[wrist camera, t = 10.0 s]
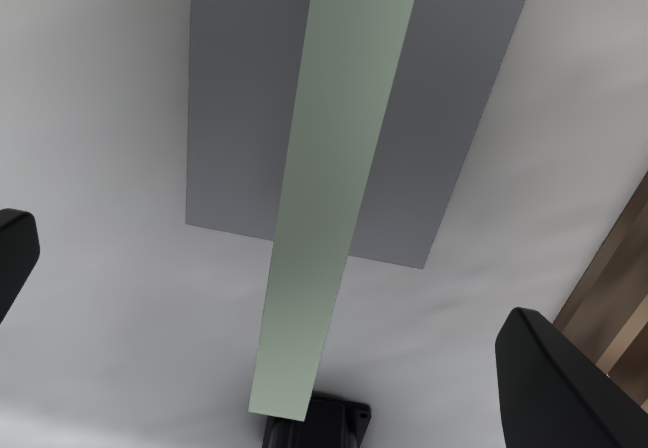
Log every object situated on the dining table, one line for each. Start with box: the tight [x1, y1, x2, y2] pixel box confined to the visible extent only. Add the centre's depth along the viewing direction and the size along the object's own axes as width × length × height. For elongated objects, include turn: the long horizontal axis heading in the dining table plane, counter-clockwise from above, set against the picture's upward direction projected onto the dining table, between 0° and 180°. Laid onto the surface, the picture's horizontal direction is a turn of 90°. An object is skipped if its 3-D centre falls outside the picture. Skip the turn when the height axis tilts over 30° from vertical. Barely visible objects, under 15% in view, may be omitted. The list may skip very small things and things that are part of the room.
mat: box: [186, 0, 525, 269], centre depth 19 cm, size 18×12×1 cm, turn 170°
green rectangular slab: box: [248, 0, 414, 421], centre depth 14 cm, size 14×2×11 cm, turn 170°
